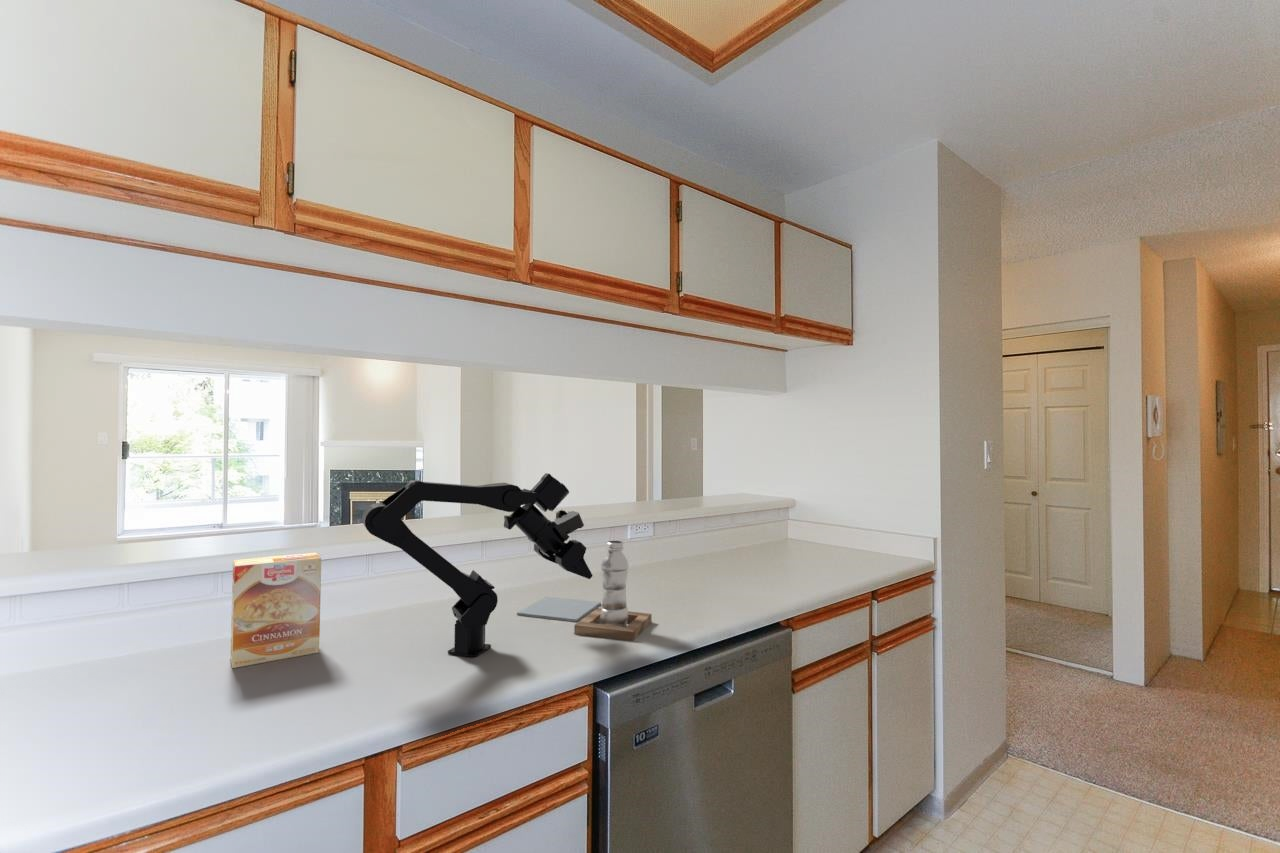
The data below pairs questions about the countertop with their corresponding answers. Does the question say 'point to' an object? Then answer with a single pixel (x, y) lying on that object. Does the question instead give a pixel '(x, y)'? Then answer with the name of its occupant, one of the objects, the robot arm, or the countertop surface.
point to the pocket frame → (630, 632)
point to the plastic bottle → (614, 586)
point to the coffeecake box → (275, 608)
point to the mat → (559, 609)
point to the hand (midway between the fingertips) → (582, 572)
